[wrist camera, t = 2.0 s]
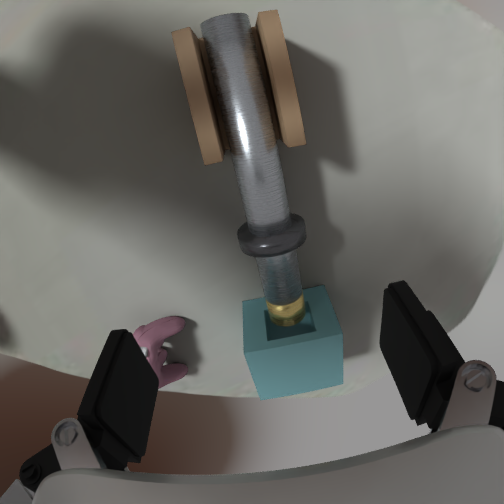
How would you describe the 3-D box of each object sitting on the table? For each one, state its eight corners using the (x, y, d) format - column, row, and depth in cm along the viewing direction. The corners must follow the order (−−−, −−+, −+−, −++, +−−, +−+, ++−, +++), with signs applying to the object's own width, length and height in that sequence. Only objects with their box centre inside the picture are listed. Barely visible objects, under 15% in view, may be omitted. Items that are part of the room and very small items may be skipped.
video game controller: (157, 302, 35) (117, 335, 29) (188, 316, 34) (150, 354, 28) (163, 357, 40) (132, 389, 34) (191, 371, 38) (161, 407, 33)
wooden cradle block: (188, 47, 21) (171, 32, 15) (267, 30, 21) (277, 9, 15) (213, 148, 26) (204, 165, 20) (290, 132, 25) (306, 144, 19)
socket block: (242, 301, 33) (243, 353, 27) (323, 284, 33) (342, 333, 26) (257, 350, 37) (260, 400, 31) (328, 336, 37) (343, 383, 30)
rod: (192, 36, 19) (179, 21, 15) (259, 22, 19) (264, 3, 14) (258, 302, 32) (261, 339, 27) (310, 291, 31) (321, 327, 26)
